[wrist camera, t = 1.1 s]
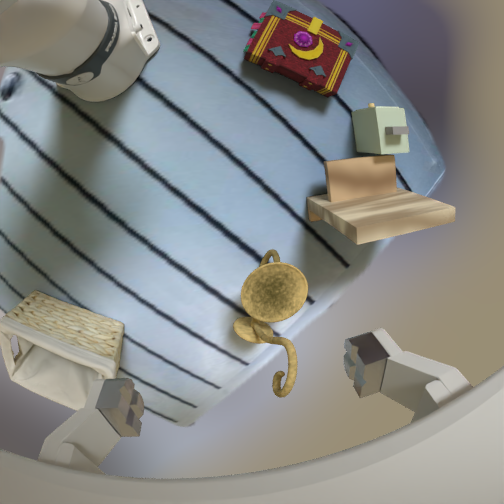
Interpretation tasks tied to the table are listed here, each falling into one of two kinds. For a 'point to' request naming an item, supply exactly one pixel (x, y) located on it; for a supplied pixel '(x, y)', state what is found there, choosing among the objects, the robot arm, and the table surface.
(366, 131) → the sage cabinet
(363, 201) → the wall board
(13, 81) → the table surface
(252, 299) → the wall sconce
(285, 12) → the decorative book
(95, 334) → the storage basket
